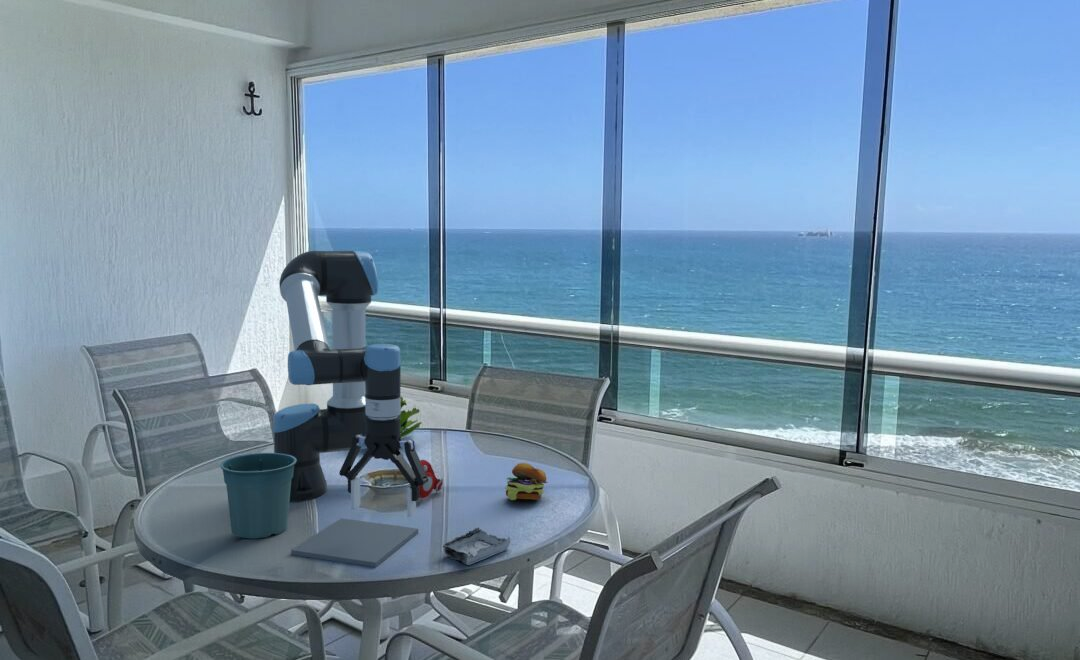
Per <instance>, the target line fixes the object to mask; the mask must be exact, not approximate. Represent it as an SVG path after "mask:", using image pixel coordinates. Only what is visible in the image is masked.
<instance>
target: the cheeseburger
mask: <svg viewBox="0 0 1080 660" xmlns="http://www.w3.org/2000/svg"><path fill="white" fill-rule="evenodd" d="M511 474H512V475H513V476H514V477H507V478H506V480H508V481H507V482H506V484H507V485H506V486H505V488H504V489H506V490H505V495H506V497H507V498H508V499H509V500H511V501H516V500H535V501H536V500H537V501H538V500H541V497H542V495H543V493H544V488H545V485H544V484H548V481H547V475H546V472H545V471H544V470H543V469H541V468H535V467H534V466H532V465H531V464H530V463H528V462H520V463H517V464H516V465H515V466H514V467H513V468H512V471H511Z"/></svg>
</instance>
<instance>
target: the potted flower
mask: <svg viewBox="0 0 1080 660" xmlns="http://www.w3.org/2000/svg"><path fill="white" fill-rule="evenodd" d="M400 398H401V409H402V408H403V407H404V406H407V405H408V404H407V402H406V400H405V399H404V397H403V396H402V395H400ZM420 412H421V410H420V409H419V408H416V407H412V409H411V410H410V409H408V411H406V410H404V409H403V410H401V414H400V415H398V416H399V417H400V418H401V433H400V438H401V439H402V438H403V437H406V436H408V435H409V434H411V433H413V432H414V431H415V430H417V429H418V428H419V426H421V425H422V422H421V421H420V422H418V420H413V421H412V420H411V419H410V420H409V418H411V417H412V416H414V415H416V414H419V413H420Z"/></svg>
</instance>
